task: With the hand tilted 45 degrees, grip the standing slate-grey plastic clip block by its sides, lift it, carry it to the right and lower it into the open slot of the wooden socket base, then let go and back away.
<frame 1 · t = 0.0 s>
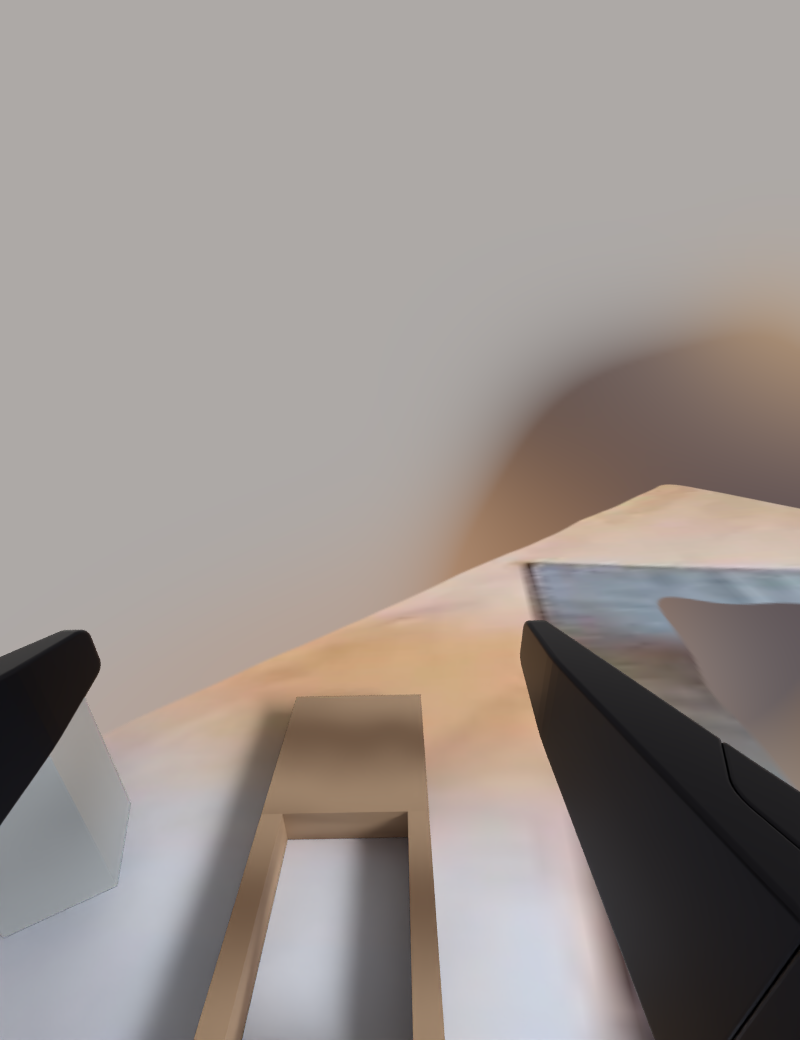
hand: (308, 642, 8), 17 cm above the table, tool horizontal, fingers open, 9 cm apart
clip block: (75, 861, 19), on the table
wooden socket base: (337, 942, 16), on the table
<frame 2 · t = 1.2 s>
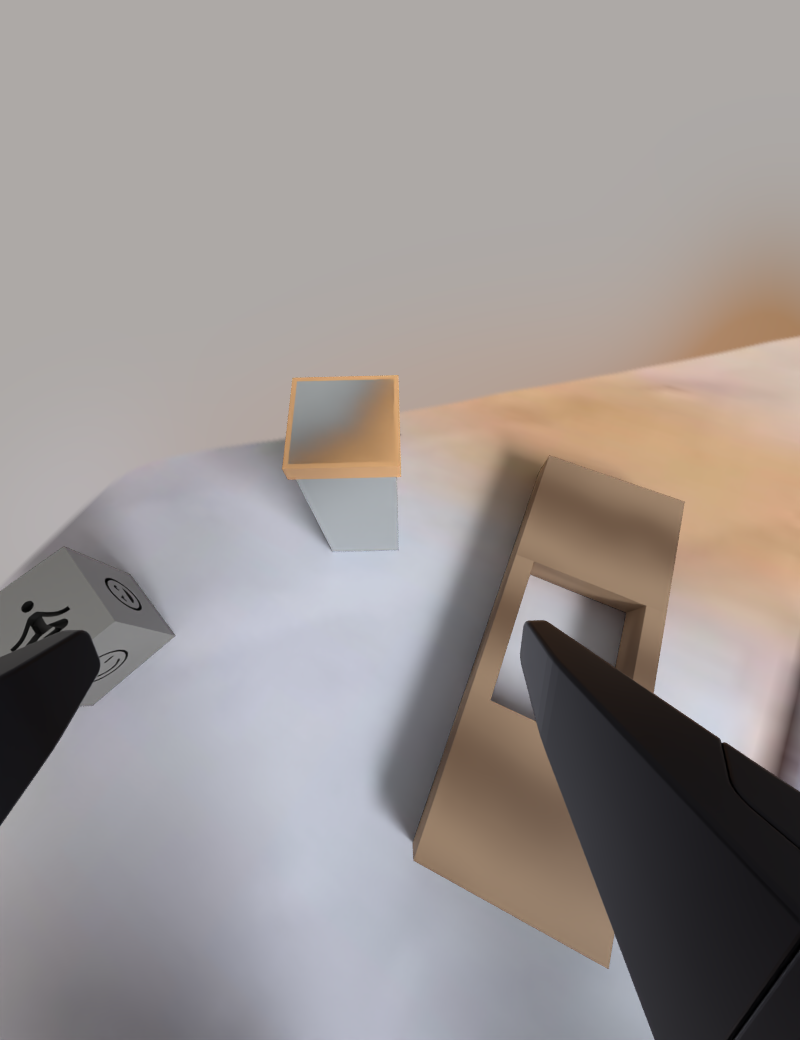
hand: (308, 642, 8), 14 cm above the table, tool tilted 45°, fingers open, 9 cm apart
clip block: (366, 520, 24), on the table
grey marked cube: (115, 636, 22), on the table
wooden socket base: (557, 654, 21), on the table
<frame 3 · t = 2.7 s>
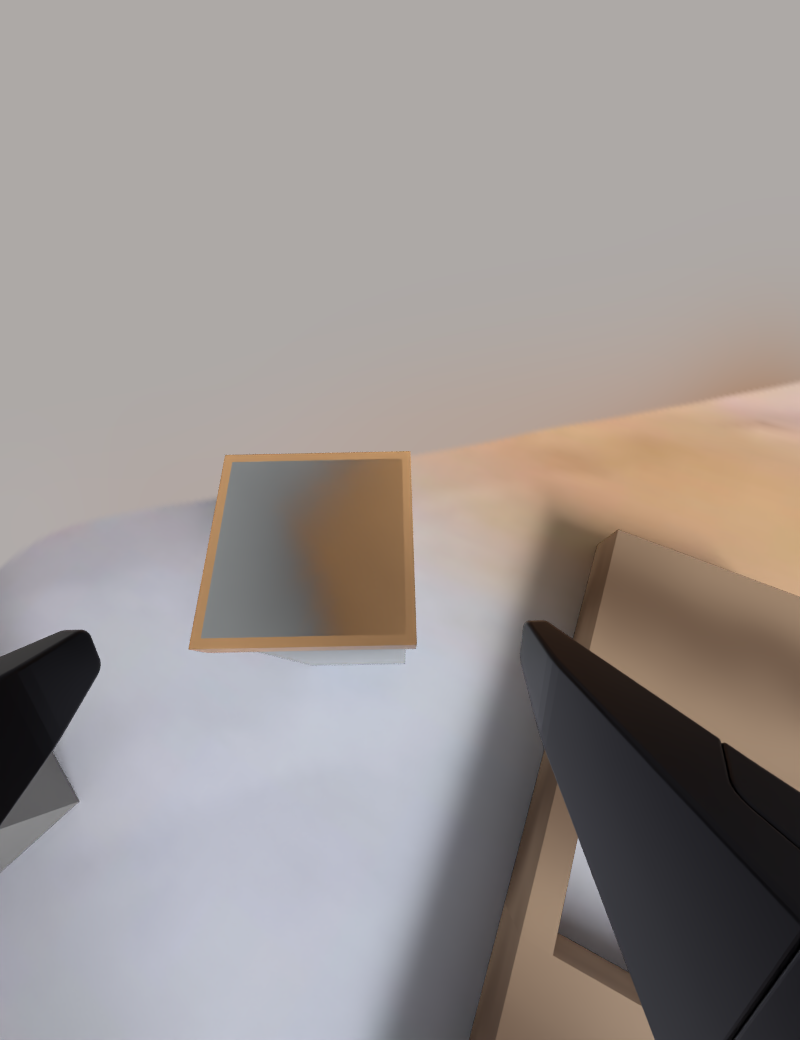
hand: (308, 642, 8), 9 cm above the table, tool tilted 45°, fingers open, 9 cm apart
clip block: (359, 617, 18), on the table
wooden socket base: (640, 839, 14), on the table
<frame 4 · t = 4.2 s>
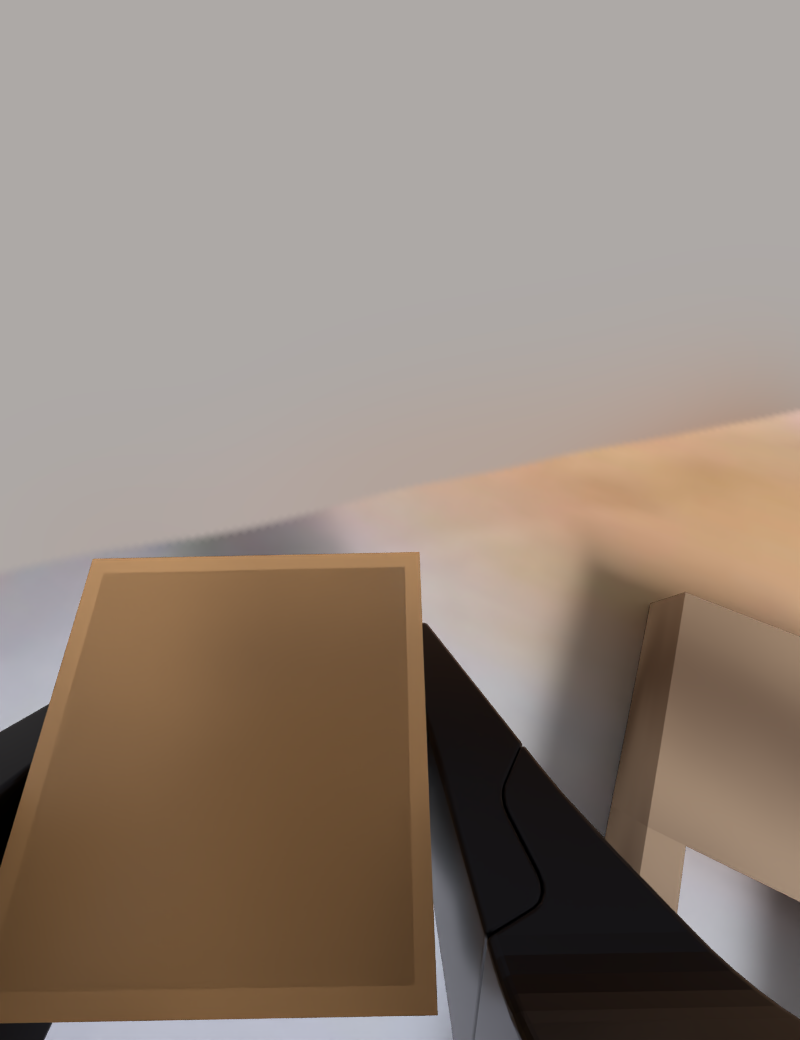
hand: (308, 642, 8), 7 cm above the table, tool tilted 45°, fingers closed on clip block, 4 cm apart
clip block: (348, 702, 14), on the table, touching gripper
wooden socket base: (731, 1033, 10), on the table
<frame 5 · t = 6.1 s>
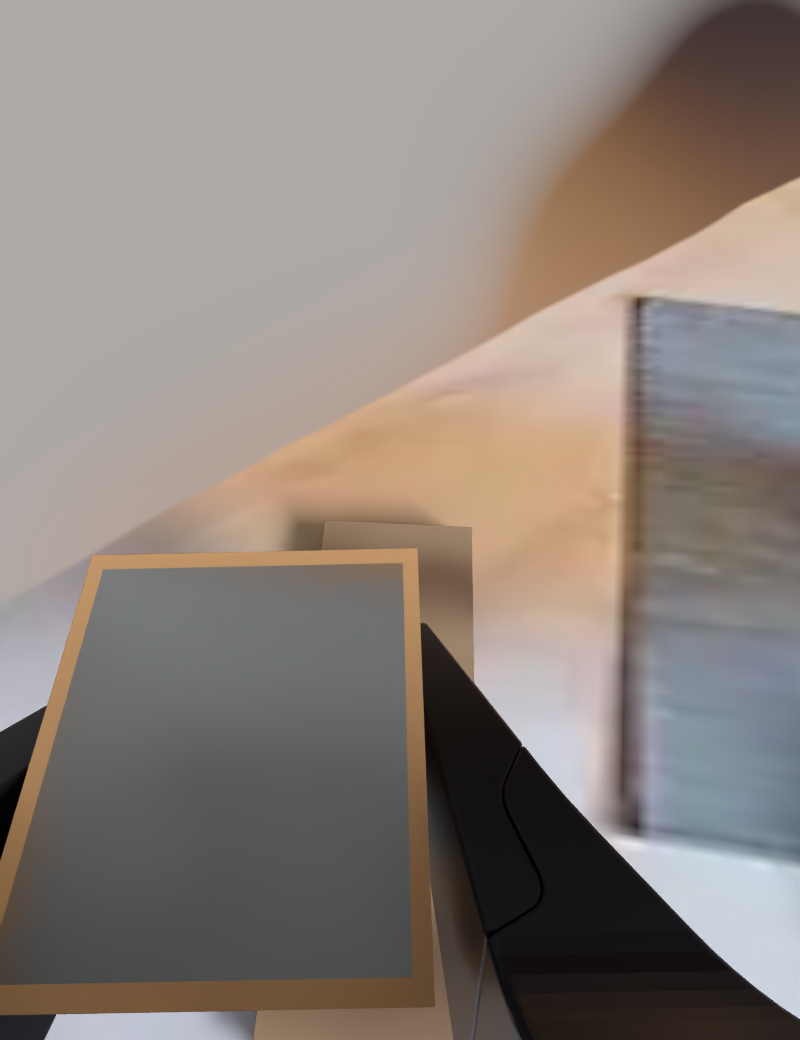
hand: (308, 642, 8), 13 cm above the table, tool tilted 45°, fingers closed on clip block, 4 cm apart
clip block: (348, 700, 14), point 7 cm above the table, touching gripper
wooden socket base: (385, 743, 19), on the table
when the fingers open (8 cm above the table, at t = 7.9 s): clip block drops 1 cm, resting in wooden socket base.
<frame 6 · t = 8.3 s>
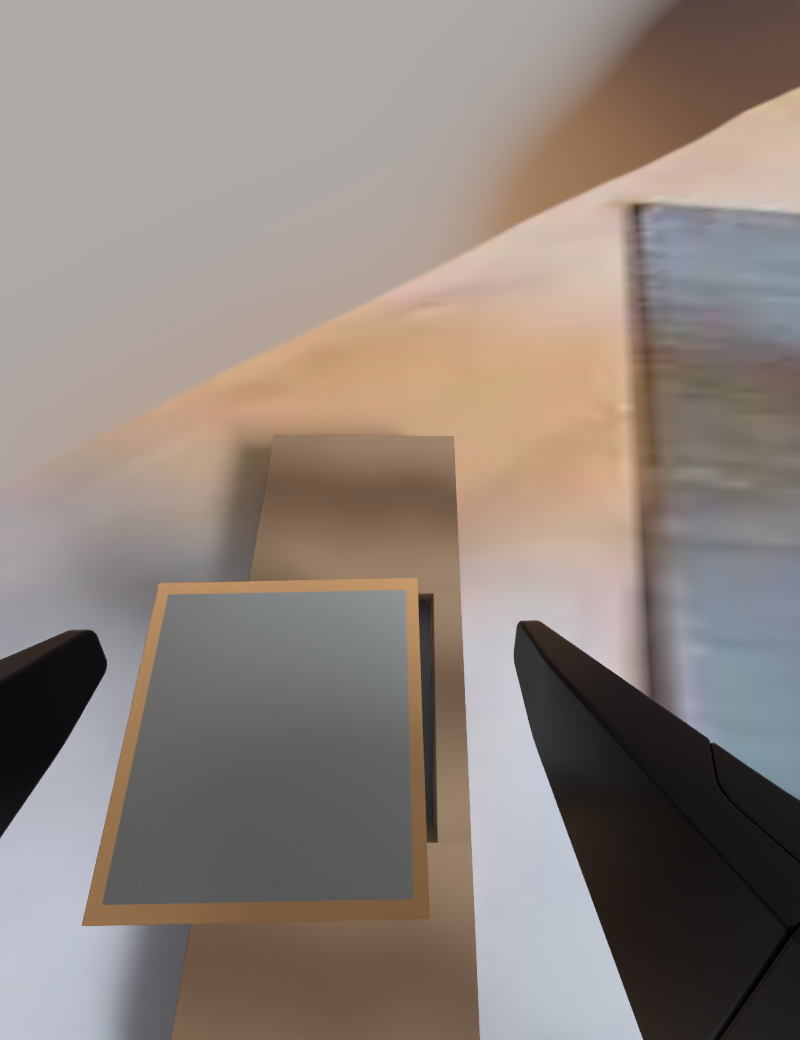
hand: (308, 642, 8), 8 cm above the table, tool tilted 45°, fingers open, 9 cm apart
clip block: (353, 699, 15), resting in wooden socket base
wooden socket base: (353, 700, 15), on the table
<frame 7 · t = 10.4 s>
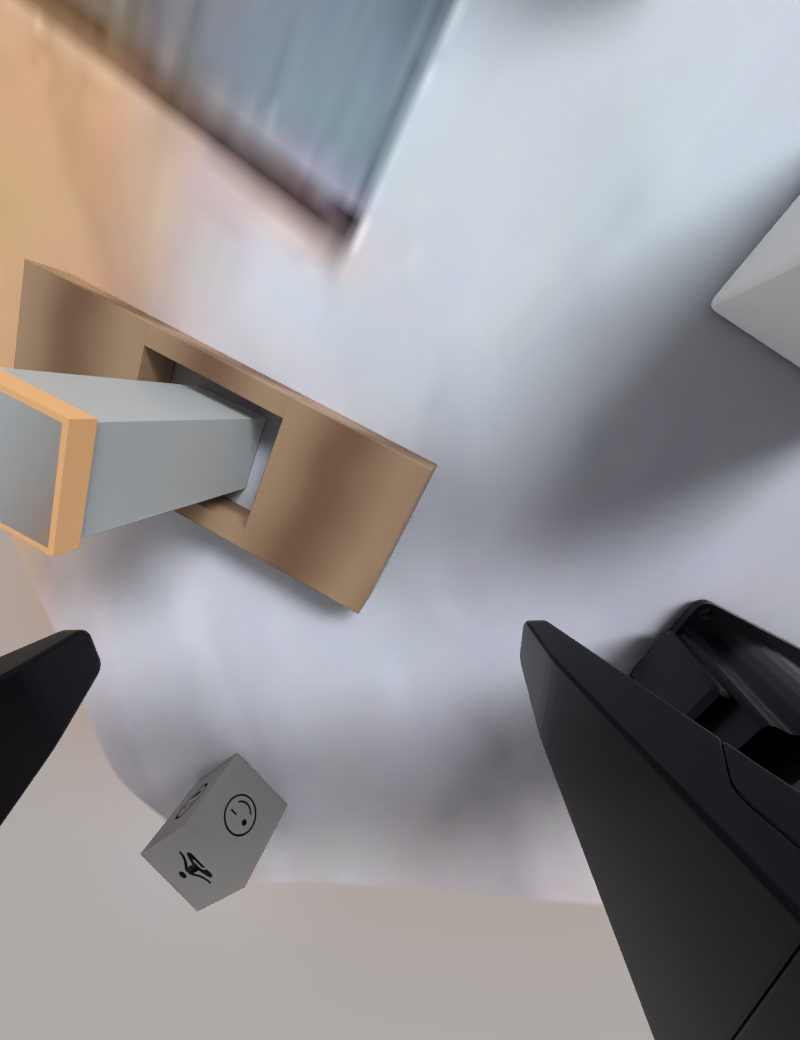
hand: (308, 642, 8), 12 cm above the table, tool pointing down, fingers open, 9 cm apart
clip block: (223, 438, 21), resting in wooden socket base
grey marked cube: (243, 789, 28), on the table
wooden socket base: (222, 438, 21), on the table
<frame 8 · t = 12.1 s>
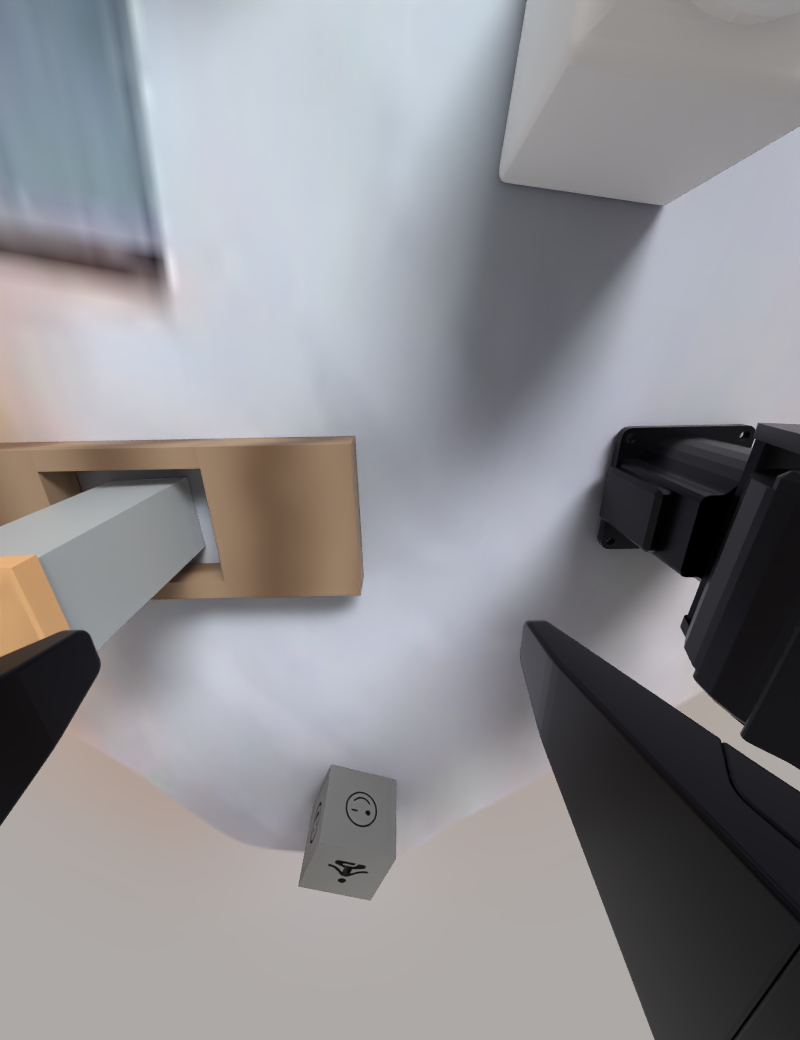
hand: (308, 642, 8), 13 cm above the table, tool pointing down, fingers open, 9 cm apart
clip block: (159, 514, 21), resting in wooden socket base
medicine bottle: (605, 83, 15), on the table
grey marked cube: (354, 790, 30), on the table
wooden socket base: (159, 514, 21), on the table
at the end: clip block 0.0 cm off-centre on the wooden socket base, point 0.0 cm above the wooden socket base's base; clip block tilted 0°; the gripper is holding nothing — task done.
